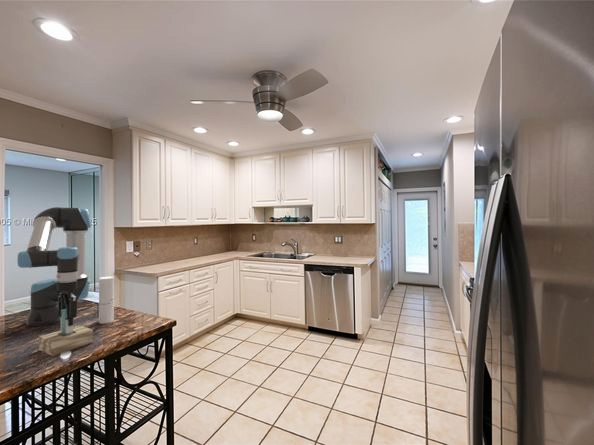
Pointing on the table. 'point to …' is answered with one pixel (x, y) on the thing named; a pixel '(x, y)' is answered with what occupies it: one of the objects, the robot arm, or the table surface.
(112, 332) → the table surface
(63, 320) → the pin
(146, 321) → the table surface
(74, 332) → the block
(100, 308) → the cylindrical container
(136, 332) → the table surface
